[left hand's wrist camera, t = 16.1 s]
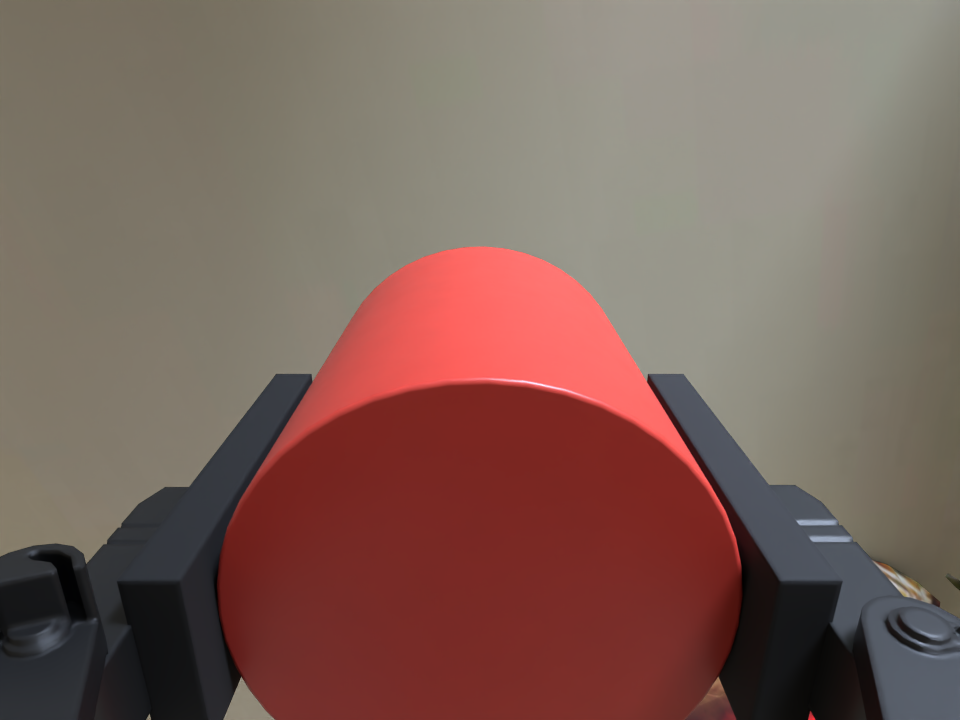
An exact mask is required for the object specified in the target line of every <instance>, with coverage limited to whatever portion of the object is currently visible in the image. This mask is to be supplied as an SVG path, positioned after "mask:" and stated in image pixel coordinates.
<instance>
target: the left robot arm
mask: <svg viewBox="0 0 960 720" xmlns="http://www.w3.org/2000/svg"><path fill="white" fill-rule="evenodd" d="M647 383H648V385H649V386H650V388H651V390H652V391H653V393H654V394H655V396H656V398H657V399H658V401H659V403H660V404H661V406H662V407H663V409H664V411H665V412H666V414H667V416H668V417H669V419H670V420H671V422H672V424H673V425H674V427H675V428H676V430H677V432H678V433H679V435H680V437H681V438H682V440H683V441H684V443H685V445H686V446H687V448H688V450H689V451H690V453H691V454H692V456H693V458H694V459H695V461H696V463H697V464H698V466H699V467H700V469H701V471H702V472H703V474H704V476H705V477H706V479H707V480H708V482H709V484H710V485H711V487H712V489H713V491H714V492H715V494H716V496H717V497H718V499H719V501H720V503H721V504H722V506H723V508H724V509H725V511H726V514H727V517H728V519H729V522H730V524H731V527H732V530H733V532H734V535H735V537H736V541H737V546H738V551H739V556H740V561H741V566H742V603H741V611H740V618H739V625H738V629H737V632H736V635H735V639H734V642H733V645H732V649H731V651H730V653H729V656H728V658H727V660H726V662H725V664H724V666H723V668H722V670H721V672H720V675H719V676H718V677H719V679H720V682H721V684H722V687H723V689H724V691H725V694H726V696H727V698H728V701H729V703H730V706H731V708H732V710H733V713H734V715H735V717H736V720H808V719H809V715H810V711H811V713H812V715H813V716H814V718H815V720H960V619H959V618H958V617H956V616H954V615H952V614H950V613H948V612H947V611H945V610H943V609H941V608H939V607H937V606H935V605H933V604H929V603H926V602H923V601H920V600H917V599H914V598H911V597H904V596H903V595H902V594H901V593H900V591H899V590H898V589H897V588H896V587H895V586H894V585H893V583H892V582H891V581H890V580H889V579H888V578H887V577H886V575H885V574H884V573H883V572H882V571H881V570H880V569H879V567H878V566H877V565H876V564H875V563H874V562H873V560H872V559H871V558H870V557H869V556H868V555H867V554H866V552H865V551H864V550H863V549H862V548H861V547H860V546H859V544H858V543H857V542H853V538H852V536H851V535H850V534H849V533H848V532H847V531H846V530H845V528H844V527H843V526H842V525H839V524H838V520H837V519H836V518H835V517H834V516H833V515H832V513H831V512H830V511H829V510H828V509H827V508H826V507H825V505H824V504H823V503H822V502H821V501H819V500H818V499H816V498H814V497H813V496H811V495H810V494H808V493H807V492H805V491H803V490H802V489H800V488H799V487H797V486H796V485H768V483H767V482H766V481H765V479H764V478H763V477H762V476H761V474H760V473H759V472H758V470H757V469H756V468H755V466H754V465H753V464H752V463H751V461H750V460H749V459H748V457H747V456H746V455H745V453H744V452H743V451H742V450H741V448H740V447H739V446H738V444H737V443H736V442H735V440H734V439H733V438H732V437H731V435H730V434H729V433H728V431H727V430H726V429H725V428H724V426H723V425H722V424H721V422H720V421H719V420H718V418H717V417H716V416H715V415H714V413H713V412H712V411H711V409H710V408H709V407H708V405H707V404H706V403H705V402H704V400H703V399H702V398H701V396H700V395H699V394H698V393H697V391H696V390H695V389H694V387H693V386H692V385H691V383H690V382H689V381H688V380H687V378H686V377H685V376H684V374H648V380H647ZM311 384H312V374H276V375H275V376H274V378H273V379H272V380H271V382H270V383H269V384H268V385H267V387H266V388H265V389H264V391H263V392H262V393H261V395H260V396H259V397H258V398H257V400H256V401H255V402H254V404H253V405H252V406H251V408H250V409H249V410H248V411H247V413H246V414H245V415H244V417H243V418H242V419H241V420H240V422H239V423H238V424H237V426H236V427H235V428H234V430H233V431H232V432H231V433H230V435H229V436H228V437H227V439H226V440H225V441H224V443H223V444H222V445H221V446H220V448H219V449H218V450H217V452H216V453H215V454H214V455H213V457H212V458H211V459H210V461H209V462H208V463H207V465H206V466H205V467H204V468H203V470H202V471H201V472H200V474H199V475H198V476H197V477H196V479H195V480H194V481H193V483H192V484H191V485H190V487H165V488H163V489H161V490H160V491H158V492H157V493H155V494H154V495H152V496H150V497H149V498H147V499H146V500H144V501H143V502H141V503H139V504H138V505H137V506H136V508H135V509H134V510H133V511H132V512H131V513H130V515H129V516H128V517H127V518H126V519H125V520H124V521H123V523H122V526H121V528H117V530H116V531H115V532H114V533H113V534H112V535H111V536H110V538H109V539H108V540H107V544H104V545H103V546H102V547H101V548H100V549H99V550H98V551H97V553H96V554H95V555H94V556H93V557H92V558H91V560H90V561H89V562H88V563H87V564H86V562H85V558H84V554H83V553H82V552H80V551H79V550H78V549H76V548H75V547H74V546H68V545H62V544H46V545H36V546H31V547H28V548H24V549H20V550H17V551H13V552H10V553H7V554H5V555H3V556H1V557H0V720H146V719H147V717H148V715H149V713H150V717H151V720H223V719H224V716H225V714H226V712H227V709H228V707H229V705H230V702H231V700H232V697H233V695H234V693H235V690H236V688H237V686H238V683H239V681H240V678H241V675H240V673H239V671H238V670H237V668H236V666H235V664H234V661H233V659H232V656H231V654H230V651H229V649H228V647H227V644H226V642H225V638H224V634H223V630H222V625H221V621H220V617H219V609H218V594H217V577H218V566H219V556H220V552H221V548H222V545H223V541H224V537H225V534H226V530H227V527H228V525H229V522H230V520H231V518H232V516H233V514H234V511H235V509H236V507H237V505H238V503H239V501H240V499H241V497H242V496H243V494H244V492H245V491H246V489H247V487H248V486H249V484H250V483H251V481H252V479H253V478H254V476H255V475H256V473H257V471H258V470H259V468H260V466H261V465H262V463H263V462H264V460H265V458H266V457H267V455H268V453H269V452H270V450H271V449H272V447H273V445H274V444H275V442H276V441H277V439H278V437H279V436H280V434H281V432H282V431H283V429H284V428H285V426H286V424H287V423H288V421H289V419H290V418H291V416H292V415H293V413H294V411H295V410H296V408H297V406H298V405H299V403H300V402H301V400H302V398H303V397H304V395H305V394H306V392H307V390H308V389H309V387H310V385H311Z"/></svg>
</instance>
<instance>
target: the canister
mask: <svg viewBox="0 0 960 720" xmlns="http://www.w3.org/2000/svg"><path fill="white" fill-rule="evenodd" d="M217 594H218V609H219V617H220V621H221V625H222V630H223V634H224V638H225V642H226V644H227V647H228V649H229V651H230V654H231V656H232V659H233V661H234V664H235V666H236V668H237V670H238V671H239V673H240V675H241V676H242V678H243V680H244V681H245V683H246V685H247V687H248V688H249V690H250V691H251V692H252V694H253V695H254V696H255V697H256V699H257V700H258V701H259V703H260V704H261V705H262V706H263V708H264V709H265V710H266V711H267V712H268V713H269V714H270V715H271V716H272V717H273V718H274V719H275V720H685V719H686V718H687V717H688V716H689V715H690V714H691V712H692V711H693V710H694V709H695V708H696V707H697V706H698V704H699V703H700V702H701V701H702V700H703V699H704V697H705V696H706V694H707V693H708V691H709V690H710V688H711V687H712V685H713V684H714V682H715V681H716V679H717V678H718V676H719V675H720V672H721V670H722V668H723V666H724V664H725V662H726V660H727V658H728V656H729V653H730V651H731V649H732V645H733V642H734V639H735V635H736V632H737V629H738V625H739V618H740V611H741V603H742V566H741V561H740V556H739V551H738V546H737V541H736V537H735V535H734V532H733V530H732V527H731V524H730V522H729V519H728V517H727V514H726V511H725V509H724V508H723V506H722V504H721V503H720V501H719V499H718V497H717V496H716V494H715V492H714V491H713V489H712V487H711V485H710V484H709V482H708V480H707V479H706V477H705V476H704V474H703V472H702V471H701V469H700V467H699V466H698V464H697V463H696V461H695V459H694V458H693V456H692V454H691V453H690V451H689V450H688V448H687V446H686V445H685V443H684V441H683V440H682V438H681V437H680V435H679V433H678V432H677V430H676V428H675V427H674V425H673V424H672V422H671V420H670V419H669V417H668V416H667V414H666V412H665V411H664V409H663V407H662V406H661V404H660V403H659V401H658V399H657V398H656V396H655V394H654V393H653V391H652V390H651V388H650V386H649V385H648V383H647V381H646V380H645V378H644V377H643V375H642V373H641V372H640V370H639V368H638V367H637V365H636V364H635V362H634V360H633V359H632V357H631V355H630V354H629V352H628V351H627V349H626V347H625V346H624V344H623V342H622V341H621V339H620V338H619V336H618V334H617V333H616V331H615V329H614V328H613V326H612V325H611V323H610V321H609V320H608V318H607V316H606V315H605V313H604V312H603V310H602V308H601V307H600V306H599V305H598V303H597V302H596V301H595V300H594V298H593V297H592V296H591V295H590V293H589V292H588V291H586V290H585V289H584V288H583V287H582V286H581V285H580V284H579V283H578V282H577V281H576V280H575V279H573V278H572V277H570V276H569V275H568V274H566V273H565V272H563V271H562V270H561V269H559V268H557V267H555V266H553V265H551V264H549V263H547V262H546V261H544V260H541V259H539V258H536V257H533V256H531V255H528V254H525V253H522V252H517V251H513V250H508V249H503V248H493V247H464V248H458V249H452V250H446V251H442V252H438V253H435V254H432V255H429V256H426V257H423V258H421V259H419V260H417V261H414V262H412V263H410V264H408V265H406V266H404V267H403V268H401V269H400V270H398V271H396V272H395V273H393V274H392V275H390V276H389V277H388V278H387V279H385V280H384V281H383V282H382V283H381V284H380V285H378V286H377V287H376V288H375V289H374V290H373V291H372V292H371V293H370V295H369V296H368V297H367V298H366V299H365V300H364V301H363V302H362V304H361V305H360V307H359V308H358V310H357V311H356V313H355V314H354V316H353V317H352V319H351V321H350V322H349V324H348V325H347V327H346V329H345V330H344V332H343V334H342V335H341V337H340V338H339V340H338V342H337V343H336V345H335V347H334V348H333V350H332V351H331V353H330V355H329V356H328V358H327V360H326V361H325V363H324V364H323V366H322V368H321V369H320V371H319V372H318V374H317V376H316V377H315V379H314V381H313V382H312V384H311V385H310V387H309V389H308V390H307V392H306V394H305V395H304V397H303V398H302V400H301V402H300V403H299V405H298V406H297V408H296V410H295V411H294V413H293V415H292V416H291V418H290V419H289V421H288V423H287V424H286V426H285V428H284V429H283V431H282V432H281V434H280V436H279V437H278V439H277V441H276V442H275V444H274V445H273V447H272V449H271V450H270V452H269V453H268V455H267V457H266V458H265V460H264V462H263V463H262V465H261V466H260V468H259V470H258V471H257V473H256V475H255V476H254V478H253V479H252V481H251V483H250V484H249V486H248V487H247V489H246V491H245V492H244V494H243V496H242V497H241V499H240V501H239V503H238V505H237V507H236V509H235V511H234V514H233V516H232V518H231V520H230V522H229V525H228V527H227V530H226V534H225V537H224V541H223V545H222V548H221V552H220V556H219V566H218V577H217Z"/></svg>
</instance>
